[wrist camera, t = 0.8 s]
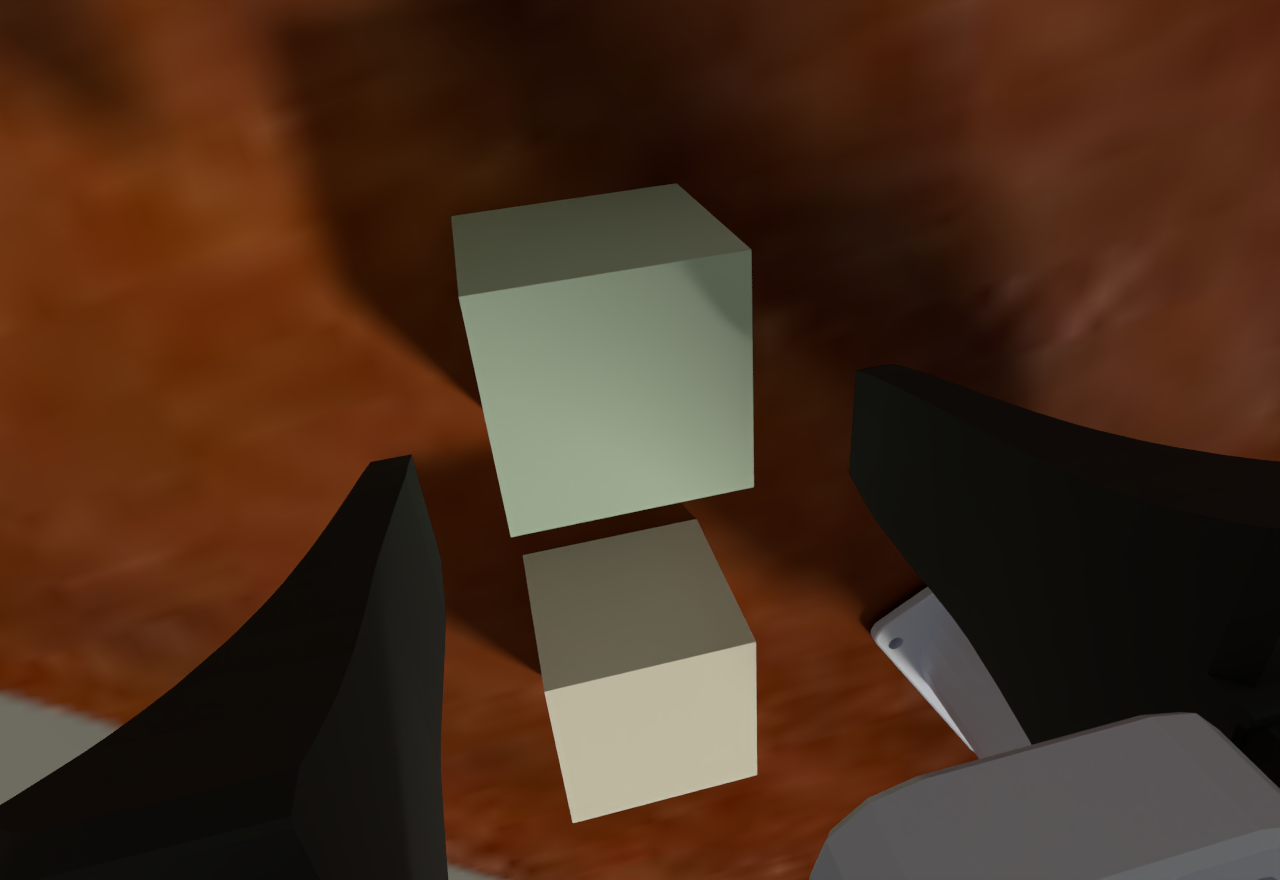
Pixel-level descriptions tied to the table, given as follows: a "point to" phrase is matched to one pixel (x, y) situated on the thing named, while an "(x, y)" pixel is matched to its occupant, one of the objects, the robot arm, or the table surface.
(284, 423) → the table surface
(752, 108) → the table surface
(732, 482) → the sage green block
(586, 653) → the cream block
